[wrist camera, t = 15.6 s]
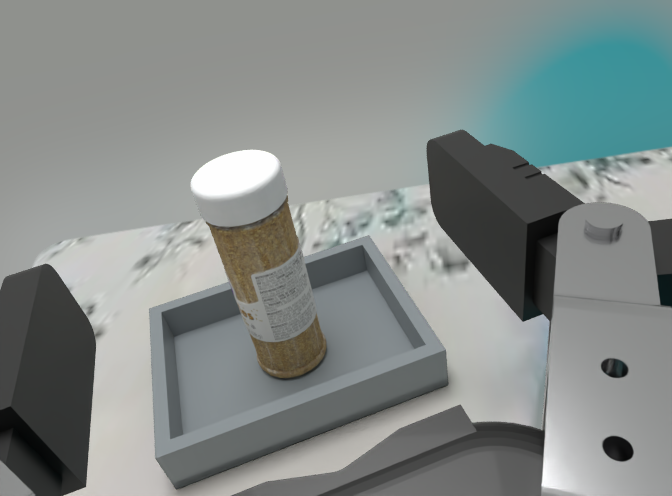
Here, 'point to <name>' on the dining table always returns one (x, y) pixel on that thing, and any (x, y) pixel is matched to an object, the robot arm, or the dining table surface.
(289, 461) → the dining table surface
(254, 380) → the box
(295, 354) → the sprinkles bottle
